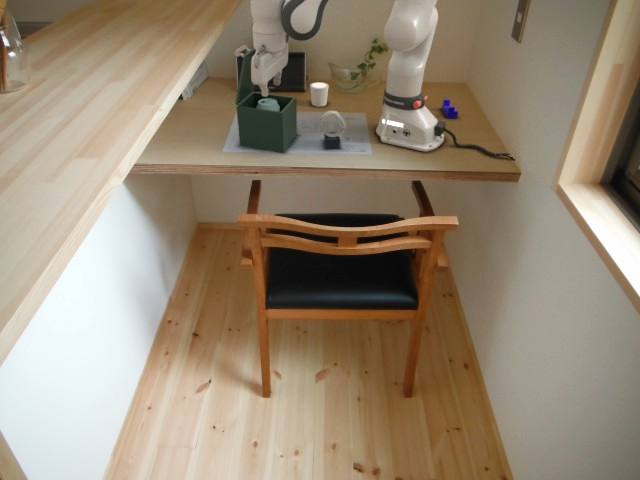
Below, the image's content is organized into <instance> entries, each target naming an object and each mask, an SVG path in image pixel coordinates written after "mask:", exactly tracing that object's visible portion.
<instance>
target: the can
mask: <svg viewBox="0 0 640 480" xmlns="http://www.w3.org/2000/svg"><path fill="white" fill-rule="evenodd" d="M256 108H258V109H265V110H272V111H279V112H280V107H279V105H278V103H277V101H276V100H275V99H271V98H266V99H261V100H259V101H258V105H257V107H256Z"/></svg>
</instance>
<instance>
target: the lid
mask: <svg viewBox="0 0 640 480" xmlns="http://www.w3.org/2000/svg"><path fill="white" fill-rule="evenodd" d="M255 51H256V50H255V49H254V47H252V48H251V49H250V48H248V46H247V45H246V44H243V45H241V46H240V47H239V48H237V49H236V50H234V52H233V53H234V56H235V57H237V58H240V57H242V63H241V69H240V74H239V80H238V85H237V90H236V97H235V102H234V105H235V106H237V105H239V104H240V103H241V102H242V101H243V100H244V99H245V98H246V97H248V96H249V95H250V94H251V93H252V92H255V87H256V85H254V84H253V83H252V80H251V61H252V57H253V56H254V55H255Z"/></svg>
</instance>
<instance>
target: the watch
mask: <svg viewBox="0 0 640 480" xmlns="http://www.w3.org/2000/svg"><path fill="white" fill-rule="evenodd" d="M330 115H334V116H335V118H336V120H337V123H338V124H339V126H340V127H341V128H340V129H339V130H338V131H327V130H326V128H325V127H324V124H323V123H324V122H323V121H324V119H325V118H326V117H328V116H330ZM319 126H320V128H321V131H322V133H323V143H324V147H325V150H339V149H340V147H341V138H340V136H341V135H342V134H344V132H345V129H346V127H347V124H346V121H345V120H344V117H343V115H342V114H341V113H340V111H337V110H327V111H325V112H324V113H323V114H322V115H321V117H320V119H319Z"/></svg>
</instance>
